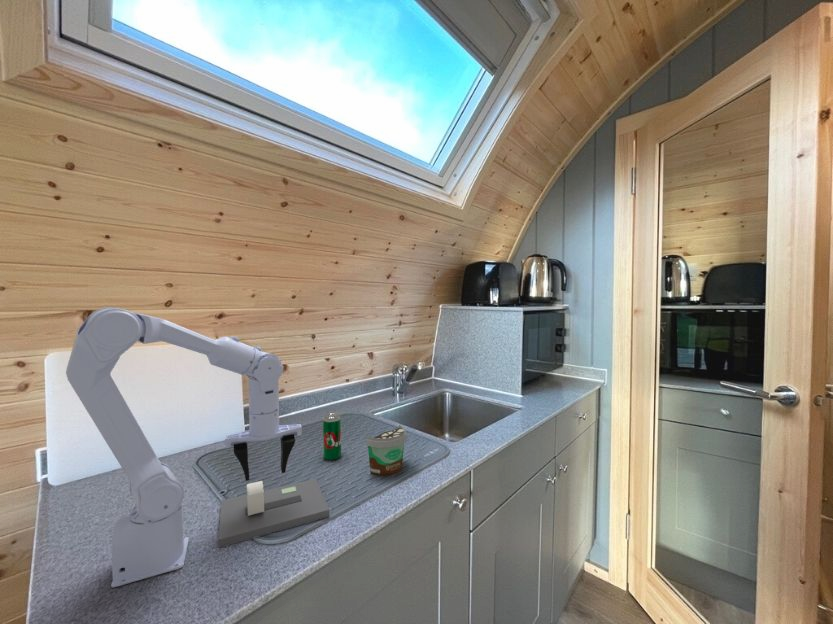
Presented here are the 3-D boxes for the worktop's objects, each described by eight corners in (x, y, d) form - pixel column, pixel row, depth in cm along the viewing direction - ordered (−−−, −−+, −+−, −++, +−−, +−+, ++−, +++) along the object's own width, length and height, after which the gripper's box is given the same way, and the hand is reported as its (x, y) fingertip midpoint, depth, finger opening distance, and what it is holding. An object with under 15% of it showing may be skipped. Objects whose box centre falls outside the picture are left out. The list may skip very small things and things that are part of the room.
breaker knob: (247, 515, 70) (247, 496, 70) (247, 502, 75) (246, 484, 75) (264, 511, 72) (263, 492, 72) (262, 499, 76) (262, 480, 76)
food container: (382, 484, 86) (381, 443, 85) (365, 475, 90) (365, 437, 89) (416, 466, 95) (416, 429, 94) (400, 459, 99) (400, 424, 99)
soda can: (334, 451, 104) (333, 411, 103) (345, 456, 101) (344, 415, 100) (319, 457, 100) (318, 415, 100) (330, 463, 97) (329, 419, 96)
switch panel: (218, 547, 64) (218, 539, 64) (221, 507, 77) (221, 499, 77) (329, 516, 73) (329, 509, 73) (316, 484, 86) (315, 478, 86)
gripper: (297, 400, 80) (299, 459, 81) (225, 409, 74) (226, 473, 74) (302, 409, 74) (304, 473, 74) (223, 420, 67) (225, 490, 68)
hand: (265, 474), depth 74 cm, fingers open, 6 cm apart
